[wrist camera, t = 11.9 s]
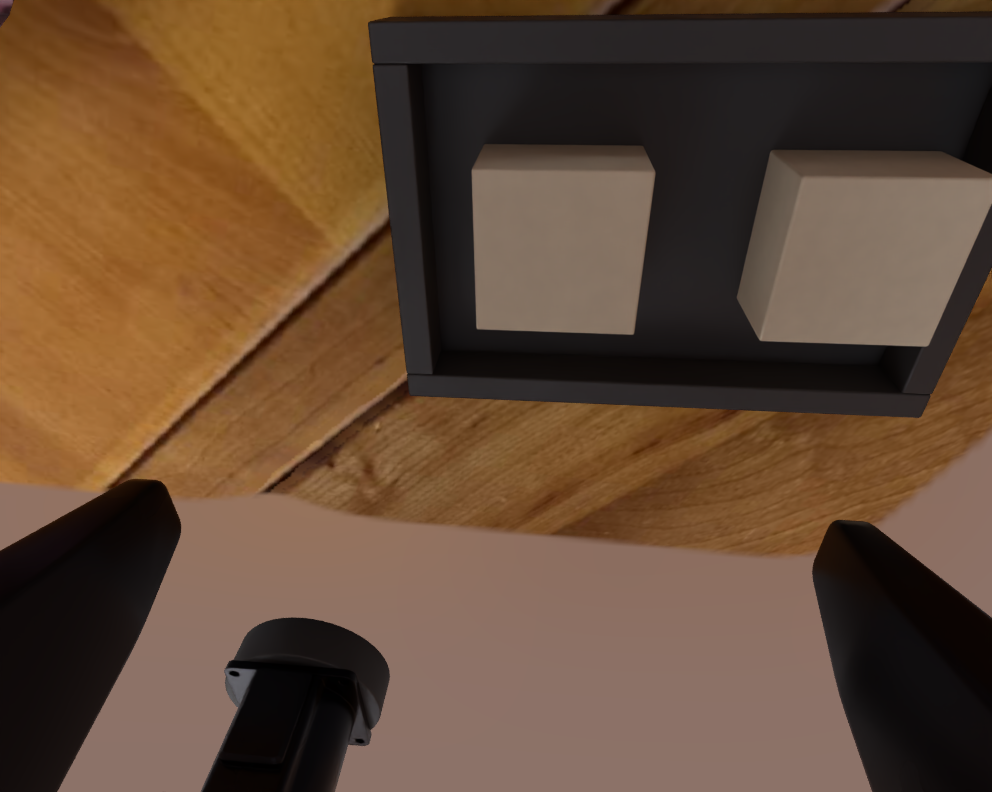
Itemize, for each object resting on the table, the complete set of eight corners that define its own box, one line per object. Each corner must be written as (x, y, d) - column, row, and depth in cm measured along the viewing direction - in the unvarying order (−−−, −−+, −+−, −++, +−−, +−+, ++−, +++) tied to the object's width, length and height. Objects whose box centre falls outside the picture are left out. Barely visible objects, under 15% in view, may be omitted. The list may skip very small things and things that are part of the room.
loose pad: (625, 293, 17) (634, 335, 15) (486, 289, 18) (476, 329, 16) (643, 145, 15) (656, 170, 13) (483, 143, 15) (470, 168, 13)
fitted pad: (884, 302, 17) (928, 347, 15) (735, 298, 17) (758, 341, 15) (942, 150, 15) (1004, 178, 12) (770, 148, 15) (802, 175, 13)
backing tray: (889, 380, 19) (921, 418, 17) (421, 362, 20) (408, 396, 18) (1045, 10, 13) (1112, 15, 12) (389, 16, 14) (367, 21, 13)
